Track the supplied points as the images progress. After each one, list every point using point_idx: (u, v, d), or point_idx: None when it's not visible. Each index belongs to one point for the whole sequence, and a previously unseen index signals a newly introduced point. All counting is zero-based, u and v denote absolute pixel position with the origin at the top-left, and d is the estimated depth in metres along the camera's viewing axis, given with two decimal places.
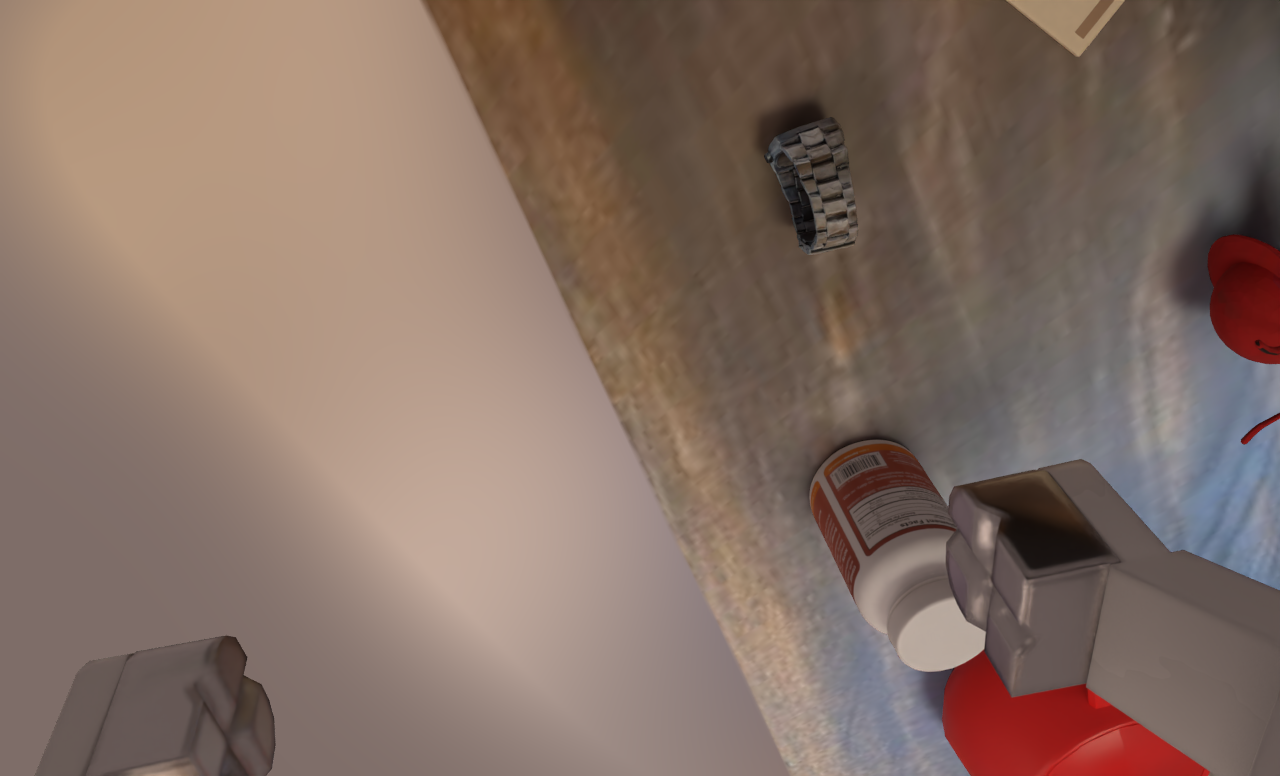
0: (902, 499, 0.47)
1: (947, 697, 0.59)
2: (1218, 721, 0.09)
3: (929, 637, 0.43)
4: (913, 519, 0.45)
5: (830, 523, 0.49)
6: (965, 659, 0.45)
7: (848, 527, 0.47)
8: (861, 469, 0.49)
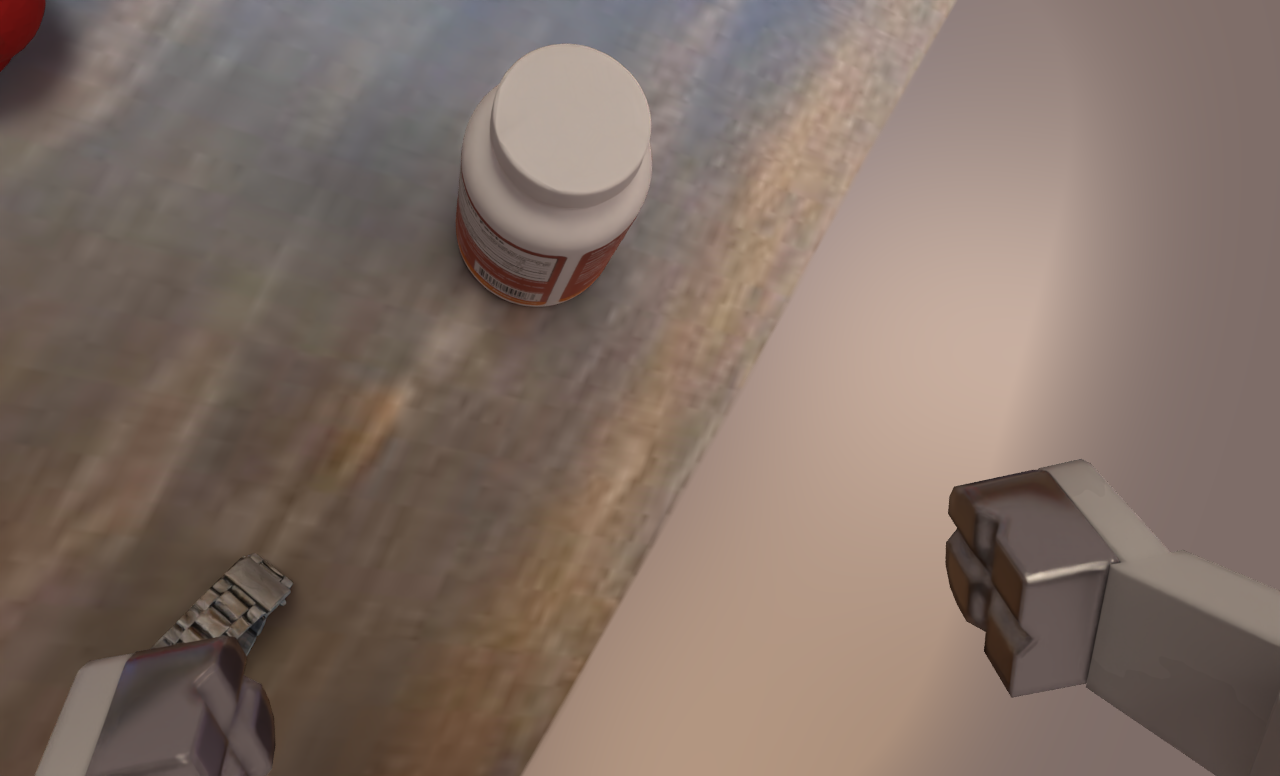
0: (483, 243, 0.33)
1: None
2: (1218, 721, 0.09)
3: (590, 142, 0.28)
4: (486, 231, 0.32)
5: (583, 277, 0.35)
6: (595, 56, 0.29)
7: (562, 274, 0.34)
8: (501, 284, 0.36)
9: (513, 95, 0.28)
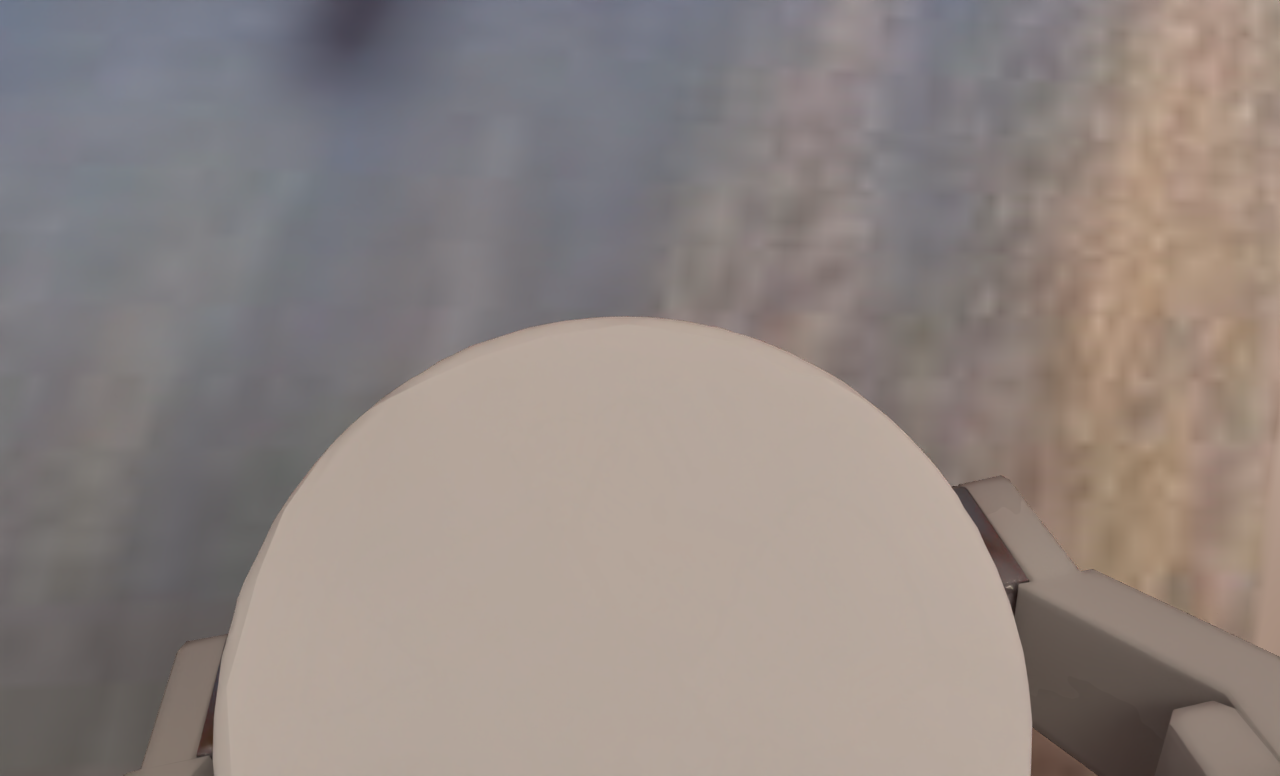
0: None
1: None
2: (1125, 742, 0.09)
3: None
4: None
5: None
6: (638, 352, 0.06)
7: None
8: None
9: (297, 705, 0.05)
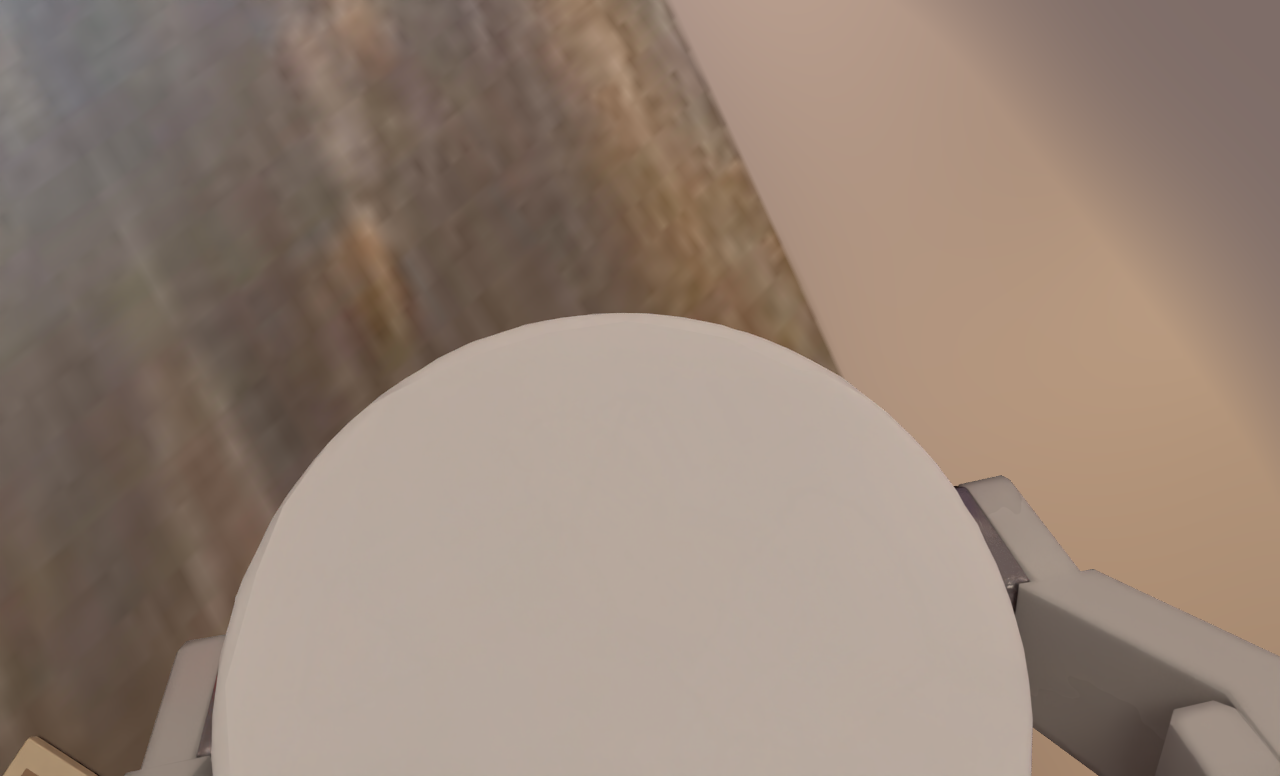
0: None
1: None
2: (1125, 742, 0.09)
3: None
4: None
5: None
6: (636, 349, 0.06)
7: None
8: None
9: (295, 703, 0.05)
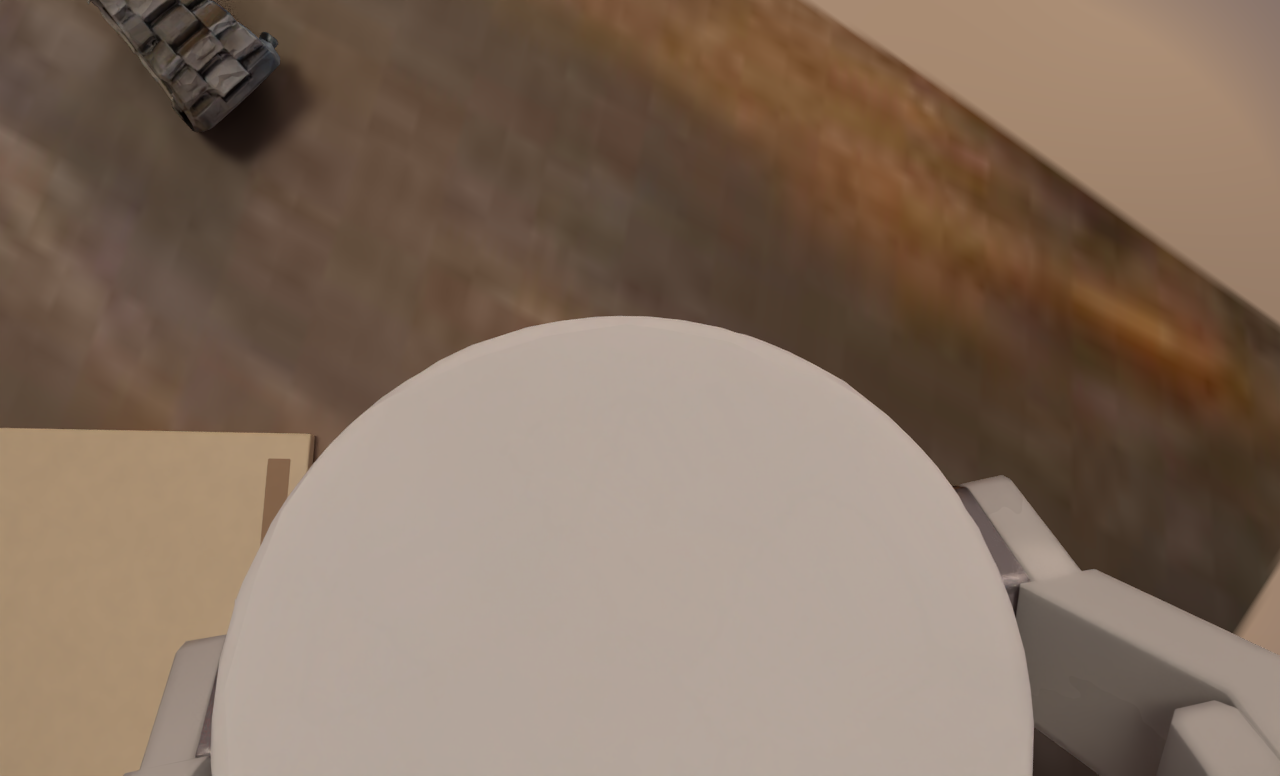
0: None
1: None
2: (1126, 742, 0.09)
3: None
4: None
5: None
6: (636, 352, 0.06)
7: None
8: None
9: (295, 709, 0.05)
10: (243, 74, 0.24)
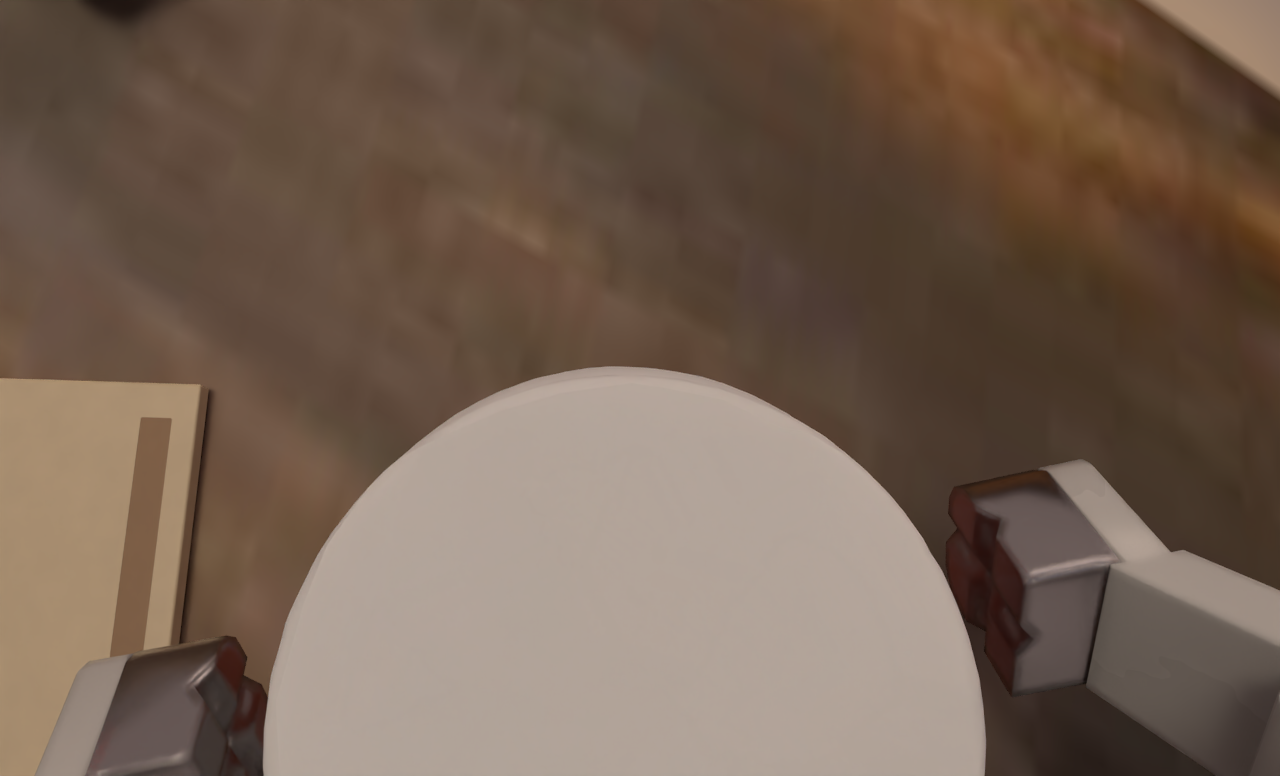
0: None
1: None
2: (1218, 721, 0.09)
3: None
4: None
5: None
6: (641, 408, 0.07)
7: None
8: None
9: (336, 718, 0.06)
10: None
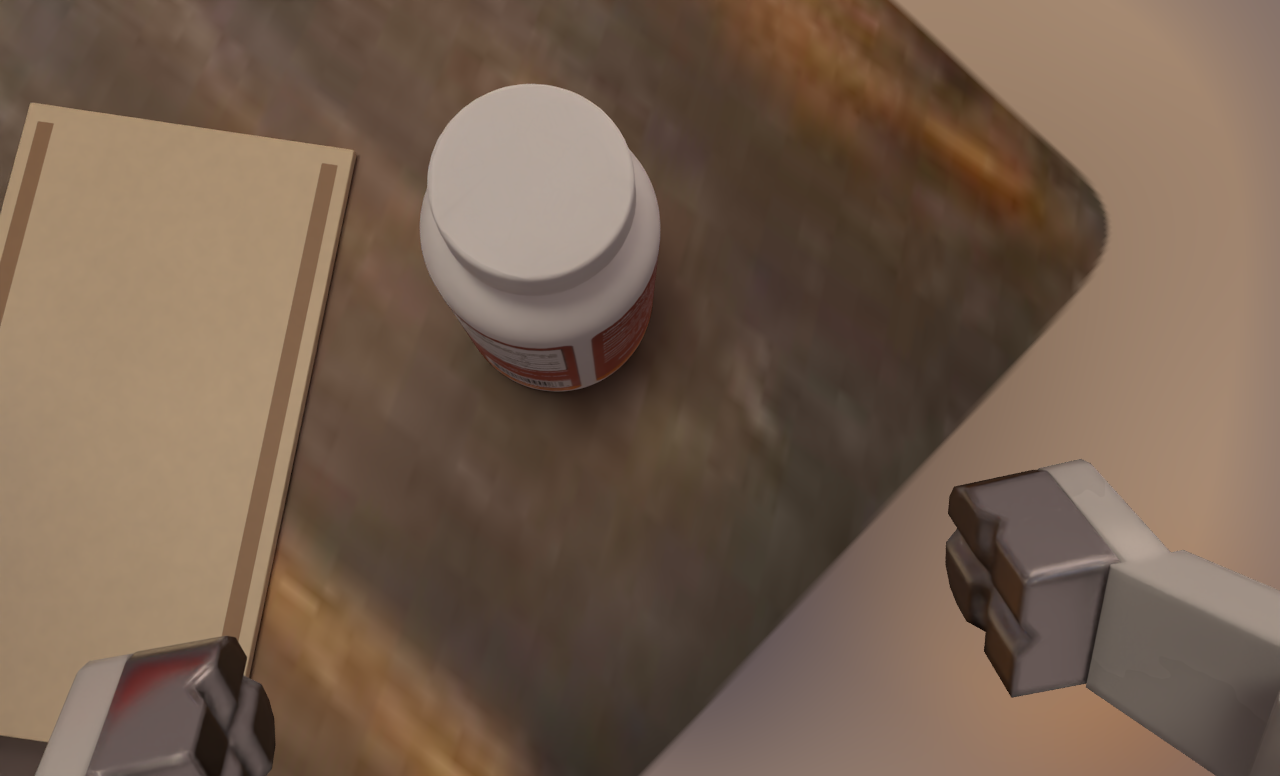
0: (478, 340, 0.27)
1: None
2: (1218, 721, 0.09)
3: (556, 207, 0.22)
4: (471, 330, 0.26)
5: (612, 354, 0.29)
6: (547, 93, 0.22)
7: (580, 360, 0.27)
8: (520, 376, 0.30)
9: (449, 167, 0.22)
10: None
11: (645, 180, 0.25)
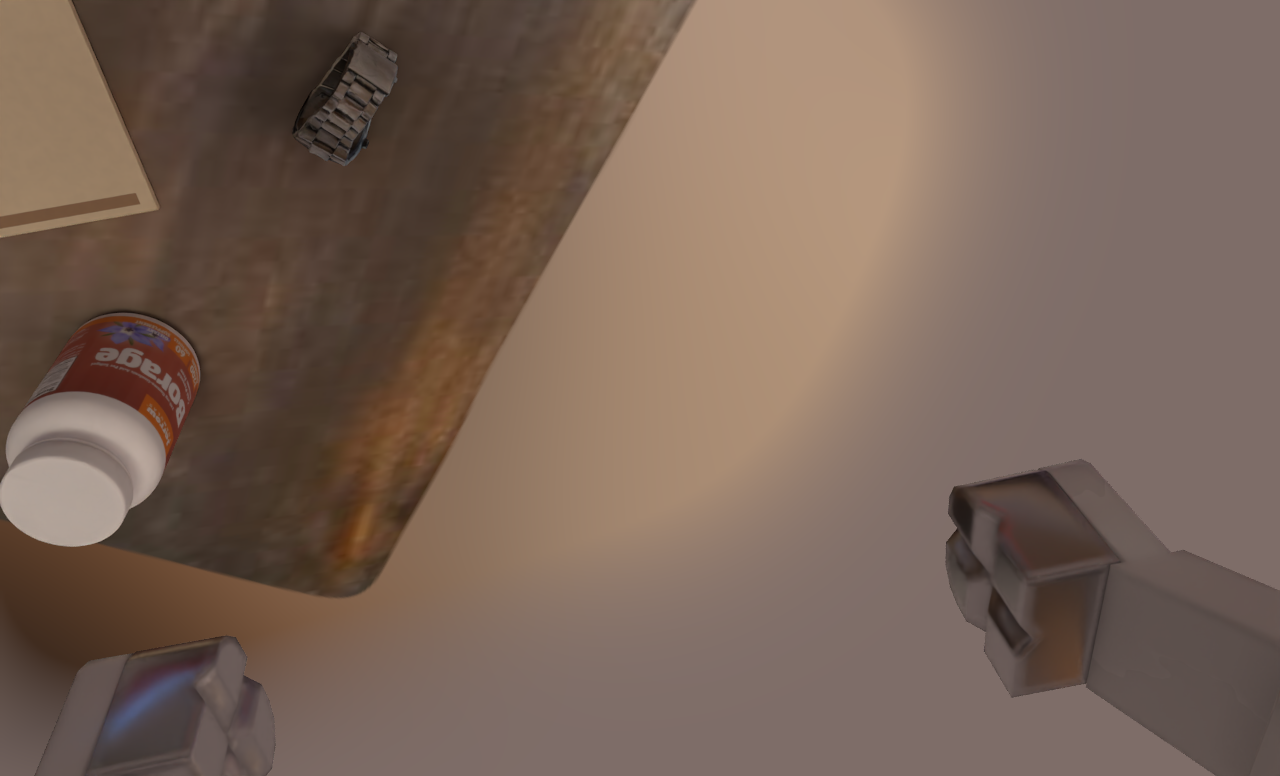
0: None
1: None
2: (1218, 721, 0.09)
3: (55, 518, 0.40)
4: None
5: None
6: (114, 494, 0.40)
7: None
8: None
9: (41, 468, 0.39)
10: None
11: (139, 502, 0.43)
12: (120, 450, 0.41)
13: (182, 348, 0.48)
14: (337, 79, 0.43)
